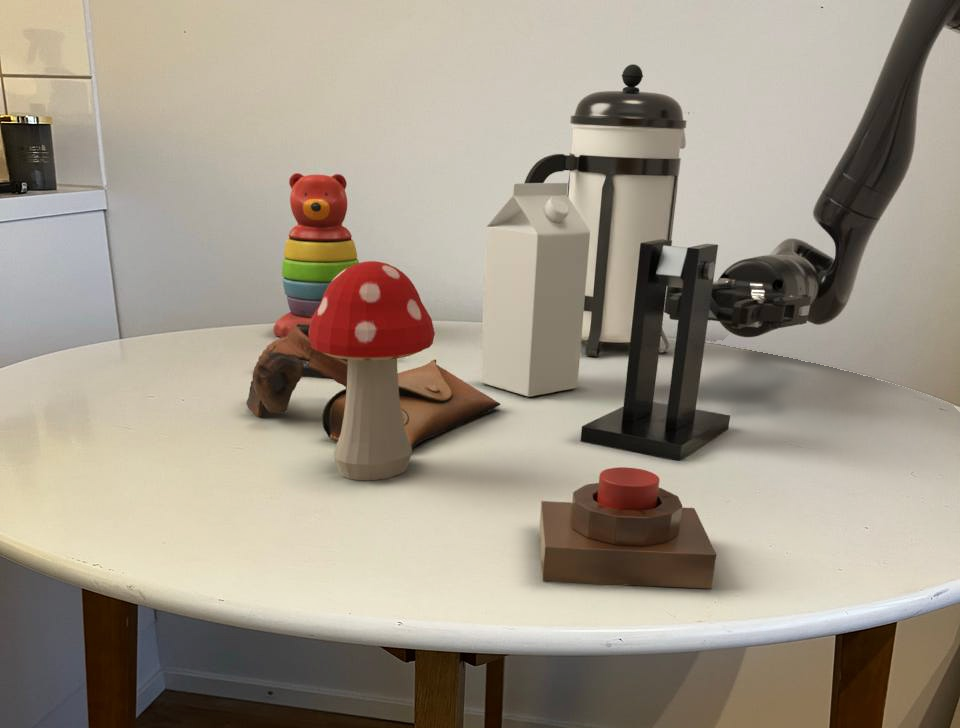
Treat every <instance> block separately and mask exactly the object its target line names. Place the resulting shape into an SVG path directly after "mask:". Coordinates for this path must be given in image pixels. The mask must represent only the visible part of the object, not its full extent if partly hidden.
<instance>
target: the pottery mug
mask: <svg viewBox="0 0 960 728" xmlns="http://www.w3.org/2000/svg"><path fill="white" fill-rule="evenodd" d="M308 332H309V330H307V329H304V328H301V327H296V326H292V328H291V331H290V332H289V334H288V336H286V337H280V338H277V339H275V340H273V341H272V342H271V343H269V344H268V345H267V346H266V348H265V349H264V350H263V351H262V353H261V354H260V355H259V356H258V361H257V362H256V364H255V366H254V369H253V372H252V380H251V381H250V387H249V392H248V396H247V400H246V406H247V408H248V410H249V411H251V412H252V414H254V415H255V416H256V417H259V418H261V416H262V414H263V406H264V408H265V409H266V410H267V412H270V413H287V411H288V407H289V403H290V401H291V397H292V394H293V392H294V391H295V389H296V387H297V385H298V383H299V382H300V380H301V379H302V378H303V376H302V371H303V362H302V361H301V360H304V361H308V367H309V368H310V369H313V370H316V371H318V372H320V373H321V374H322V375H324V376H328V377H331V378H330V379H333V380H334V381H335V382H336V383H337V384H340V385H342V386H344V387H345V389H347V371H348V359H341V358H336V357H332V356H329V355H326V354H324V353H322V352H319V351H317V350H315V349H313V348H311V344H310V340H309V334H308Z"/></svg>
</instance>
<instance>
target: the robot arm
mask: <svg viewBox="0 0 960 728" xmlns="http://www.w3.org/2000/svg"><path fill="white" fill-rule="evenodd" d="M944 28H945V29H948V30H950V31H952V32H954V33H956V34H959V35H960V0H910V1H909V3H908V6H907V8H906V11H905V13H904V15H903V18H902V20H901V22H900V25H899V27H898V29H897V31H896V34H895V36H894V39H893V41H892V43H891V46H890V48H889V49H888V50H889V51H888V53H887V56H886V58H885V60H884V63H883V66H882V68H881V70H880V73H879V75H878V78H877V80H876V83H875V84H874V88H873V89H872V93H871V94H870V97H869V99H868V101H867V105H866V107H865V109H864V112H863V113H862V116H861V118H860V120H859V122H858V124H857V127H856V128H855V131H854V133H853V135H852V137H851V138H850V141H849V143H848V144H847V146H846V148H845V150H844V152H843V153H842V155H841V157H840V158H839V160H838V161H837V164H836V165H835V167H834V169H833V171H832V173H831V175H830V176H829V178H828V180H827V182H826V184H825V185H824V187H823V189H822V191H821V192H820V195H819V196H818V198H817V200H816V202H815V204H814V206H813V209H812V217H813V219H814V222H816V224H818V226H819V227H820V228H821V229H822V230H823V231H824V232H825V233H826V234H827V235H828V236H829V237H830V238H831V240H832V242H833V244H834V250H835V252H834V253H835V255H834V257H832V256H831V255H828V254H827V253H825V252H823V251H822V250H820V249H818V248H817V247H815V246H813V245H811V244H810V243H808V242H807V241H804V240H802V239H799V238H795V237H791V238H790V237H789V238H786V239H784V240H782V241H780V243H778V244H776V246H775V247H774V249H772V251H771V252H770V254H764V255H758V256H754V257H749V258H744V259H741V260H739V261H735V262H734V263H732V264H731V265H729V266H728V267H727V268H726V269H725V270H724V271H723V272H722V273H721V275H720V276H719V278H718V279H717V280H716V281H715V280H713V287H712V294H711V297H712V298H713V300H714V301H715V302H716V303H717V305H718V306H719V307H720V308H727V309H733V314H732V321H731V323H727V322H720V321H718V323H720V325H721V326H722V327H723V328H724V330H726V331H727V332H729V333H731V335H735V336H737V337H741V338H755V337H756V338H757V337H759V336H762V335H765V334H767V333H769V332H772V331H774V330H778V329H783V328H787V327H793V326H794V327H795V326H799V325H805V324H808V323H811V324H813V325H816V326H822V325H825V324H828V323H830V322H832V321H834V320H835V319H836V318H838V317H839V315H841V313H842V312H843V311H844V309H845V308H846V306H847V305H848V303H849V301H850V299H851V295H852V292H853V290H854V287H855V283H856V280H857V275H858V272H859V270H860V269H859V268H860V265H861V262H862V259H863V257H864V254H865V252H866V248H867V245H868V244H869V240H870V239H871V237H872V234H873V233H874V230H875V228H876V227H877V225H878V224H879V221H880V220H881V218H882V216H883V215H884V213H885V212H886V210H887V208H888V207H889V205H890V203H891V201H892V200H893V199H894V197H895V195H896V194H897V192H898V190H899V189H900V187H901V185H902V183H903V182H904V179H905V178H906V176H907V173H908V171H909V168H910V165H911V163H912V160H913V155H914V152H915V151H914V150H915V144H916V134H917V123H918V122H917V119H918V106H919V95H920V91H921V83H922V78H923V74H924V70H925V67H926V65H927V61H928V58H929V56H930V53H931V52H932V50H933V47H934V45H935V43H936V41H937V40H938V37H939V36H940V34H941V32H942V31H943V29H944ZM681 295H682V288H679V287H671V286H667V289H666V297H665V306H664V313H665V314H666V315H668V316H669V317H668V318H669V319H670V320H671V321H672V320H673V321H678V319H679V311H680V303H681ZM709 321H710V320H708V322H709Z"/></svg>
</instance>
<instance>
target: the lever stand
mask: <svg viewBox="0 0 960 728" xmlns="http://www.w3.org/2000/svg"><path fill="white" fill-rule="evenodd" d="M664 245H666V246H673V240H672V239H671V240H665V239H660V240H654V241H649V242H643V243H640V252H639V262H638V272H637V281H636V291H635V301H634V310H633V320H632V329H631V339H630V342H629V348H628V349H629V350H628V359H627V368H626V369H627V370H626V379H625V389H624V396H623V397H624V398H623V406H621V407H619V408H617V409H616V410H613V411H611V412H609V413H607V414H604V415H603V416H600V417H598V418H597V419H594V420H591V421H590V422H588V423H586V424H584V425H581V430H580V431H581V433H580V442H583V443H584V442H585V443H588V444H593V445H599V446H604V447H609V448H614V449H618V450H623V451H627V452H633V453H638V454H644V455H649V456H654V457H657V458H663V459H668V460H672V461H673V460H674V461H681V460H683V459H684V458H686V457H688V456H689V455H690V454H692V453H694V452H695V451H697V450H698V449H700V448H702V447H703V446H704V445H706V444H708V443H709V442H711V441H713V440H714V439H716V438H717V437H719V436H721V435H722V434H723V433H725V432H726V431H728V430H729V427H730V421H731V415H729V414H724V413H718V412H713V411H707V410H702V409H697V404H698V403H697V402H698V396H699V395H698V394H699V388H700V380H701V374H702V373H701V372H702V366H703V361H704V360H703V359H704V353H705V352H704V350H705V344H706V337H707V331H708V323H709V321H708V316H709V309H710V301H711V294H712V287H713V281H714V279H715V271H716V263H717V257H718V251H719V244H716V243H703V244H699V245H694V246H689V247H686V248H687V255H686V263H685V271H684V279H683V287H682V295H681V303H680V311H679V319H678V320H677V329H676V336H675V337H676V338H675V344H674V352H673V360H672V362H673V363H672V369H671V376H670V385H669V392H668V393H669V394H668V401H667V404H666V403H662V402H655V401H654V399H655V391H656V390H655V389H656V382H657V381H656V380H657V373H658V364H659V356H660V353H659V349H661V341H662V337H661V331H662V329H663V322H664V308H665V300H666V292H667V286H665V284H664V283H663V282H662V281H661V280H660V279H659V278H658V276H657V275H656V271H657V267H658V264H659V260H660V256H661V252H662V249H663V246H664Z"/></svg>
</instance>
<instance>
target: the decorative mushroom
mask: <svg viewBox="0 0 960 728" xmlns="http://www.w3.org/2000/svg"><path fill="white" fill-rule="evenodd" d="M308 334H309V340H310V344H311V348H313V349H315V350H317V351H319V352H322V353H324V354H326V355H329V356H332V357H336V358H341V359H348V371H347V391H346V403H345V411H344V418H343V424H342V429H341V434H340V437H339V440H338V441H337V443H336V446H335V448H334V451H333V459H334V461H335V464H336V467H337V470H338V473H339V474H340V475H341V476H342V477H344V478H346V479H350V480H356V481H376V480H384V479H385V480H386V479H390V478H393V477H395V476H399V475H401V474H403V473H404V472H405V471H406V470H407V469H408V466H409V463H410V459H411V456H412V454H413V448H411V445H410V442H409V440H408V437H407V435H406V432H405V429H404V424H403V419H402V413H401V406H400V399H399V387H398V373H399V372H398V359H403V358H406V357H410V356H413V355H416V354H418V353H420V352H421V353H422V351H425V350H427V349H429V348H431V346H432V345H433V344H434V339H435V335H436V332H435V328H434V324H433V319H432V317H431V316H430V314H429V312H428V311H427V309H426V307H425V305H424V304H423V302H422V300H421V297H420V294H419V292H418V290H417V288H416V287H415V284H414V283H413V282H412V280H411V279H410V278H409V277H408V276H407V275H406V274H405V273H404V272H403V271H402V270H400V269H398V268H397V267H396V266H393V265H391V264H389V263H387V262H382V261H376V260H368V261H367V260H366V261H362V262H359V263H357V264H355V265H352V266H350V267H348V268H346V269H345V270H343V271H342V272H340V273H339V274H338V275H337V276H336V277H335V278H334V279H333V280H332V282H331V283H330V284H329V286H328V287H327V289H326V291H325V293H324V295H323V298H322V301H321V303H320V305H319V306H318V308H317V310H316V311H315V313H314V315H313V316H312V318H311V323H310V327H309V332H308Z"/></svg>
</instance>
